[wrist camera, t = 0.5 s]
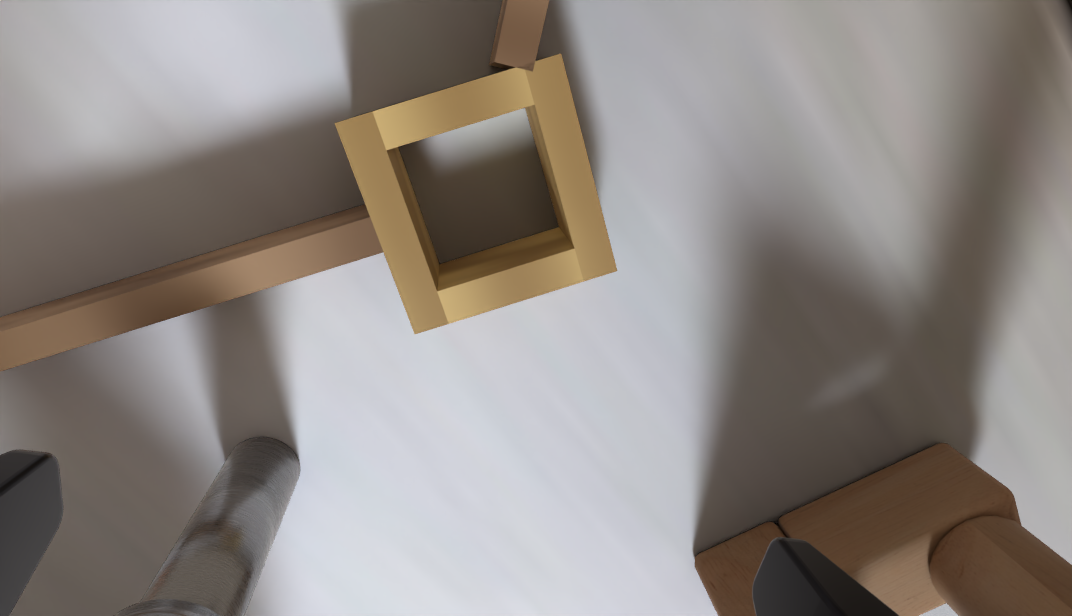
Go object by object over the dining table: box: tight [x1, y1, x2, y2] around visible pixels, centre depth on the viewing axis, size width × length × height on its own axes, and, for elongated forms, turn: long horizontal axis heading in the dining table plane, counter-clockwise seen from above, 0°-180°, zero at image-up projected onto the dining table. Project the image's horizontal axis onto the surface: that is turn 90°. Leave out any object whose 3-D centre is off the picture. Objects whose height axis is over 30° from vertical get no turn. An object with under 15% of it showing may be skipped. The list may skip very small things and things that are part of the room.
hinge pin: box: [114, 437, 300, 616], centre depth 19 cm, size 3×3×9 cm
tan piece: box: [0, 0, 617, 371], centre depth 17 cm, size 26×18×3 cm
